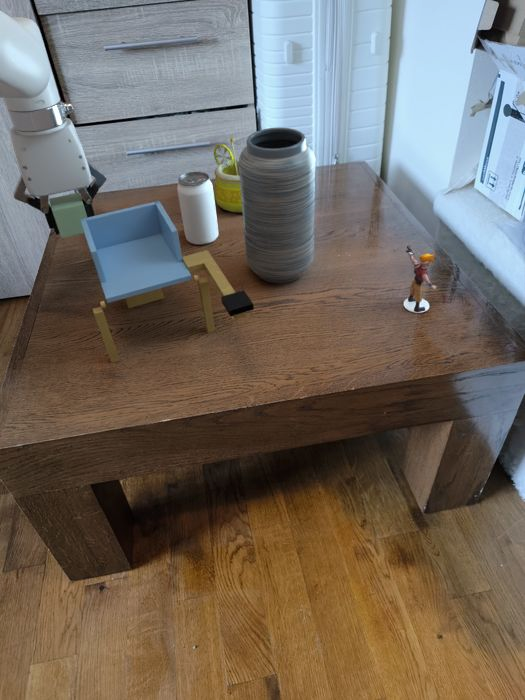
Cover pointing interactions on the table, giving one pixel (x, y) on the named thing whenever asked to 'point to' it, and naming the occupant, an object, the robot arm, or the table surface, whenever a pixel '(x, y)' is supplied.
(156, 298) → the tan bar frame
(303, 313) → the table surface
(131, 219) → the light blue walled tray
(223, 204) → the yellow lemon pot
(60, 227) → the block
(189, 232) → the can
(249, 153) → the vase
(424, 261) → the action figure
